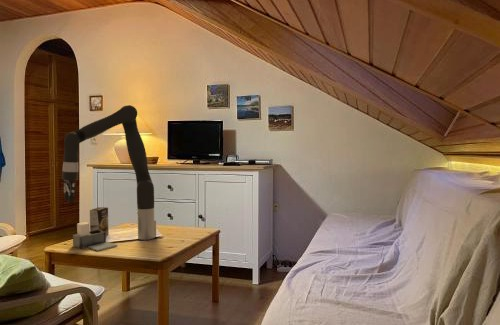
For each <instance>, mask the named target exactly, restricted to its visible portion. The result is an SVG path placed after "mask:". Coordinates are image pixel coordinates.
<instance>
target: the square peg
mask: <svg viewBox="0 0 500 325" xmlns="http://www.w3.org/2000/svg"><path fill="white" fill-rule="evenodd" d="M76 228H77V229H76V230H77V231H76V232H77V233H76V234H77V235H78V236H80V237H82V236H87V235H90V222H86V221H84V222H79V223H76Z"/></svg>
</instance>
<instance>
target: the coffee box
mask: <svg viewBox="0 0 500 325" xmlns="http://www.w3.org/2000/svg"><path fill="white" fill-rule="evenodd" d="M89 229H90V231H94V230H101V231H104V232H106V236H108V235H109V208H108V207H106V206H105V207H103V206H102V207H99V206H98V207H96V208H95V207H94V208H92V209H89ZM107 234H108V235H107Z"/></svg>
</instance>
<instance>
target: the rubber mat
mask: <svg viewBox="0 0 500 325" xmlns="http://www.w3.org/2000/svg"><path fill="white" fill-rule="evenodd" d="M117 247H118V244H116V243H113V242H110V241H106V242H105V243H101V244H97V245H93V246H89V247H88V249H90V248H91V249H90V250H93V251H95V250H96V252H100V251H99V250H101V251H105V250H109V249H113V248H117ZM108 248H109V249H108ZM104 249H105V250H104Z"/></svg>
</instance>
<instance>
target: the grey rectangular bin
mask: <svg viewBox="0 0 500 325" xmlns="http://www.w3.org/2000/svg"><path fill="white" fill-rule="evenodd" d="M106 236H107V235H106V232H104V231H101V230H94V231H90V235H87V236H82V237H80V236H78V235H77V233H76V234H72V246H73V247H75V248H77V249H80V250H82V249H87V248H89V246H93V245H97V244H101V243H105V242H107V239H106V238H107V237H106Z"/></svg>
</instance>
